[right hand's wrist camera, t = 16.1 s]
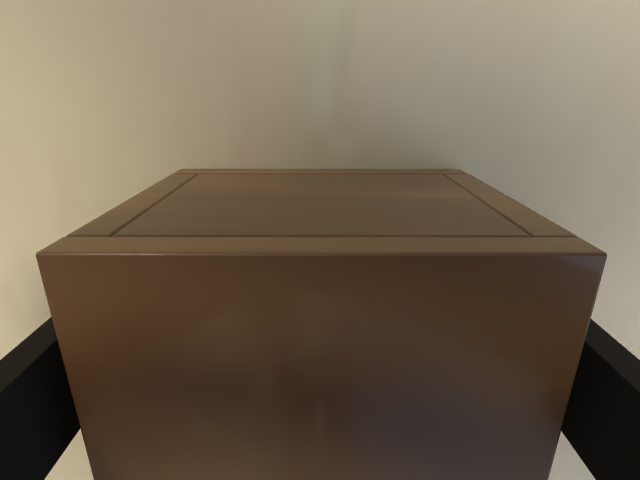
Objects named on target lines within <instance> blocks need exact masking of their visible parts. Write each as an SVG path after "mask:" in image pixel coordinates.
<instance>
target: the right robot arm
mask: <svg viewBox="0 0 640 480" xmlns="http://www.w3.org/2000/svg"><path fill="white" fill-rule="evenodd" d="M79 429H80V424H79V420H78V416H77V412H76V408H75V405H74V401H73V397H72V393H71V389H70V385H69V381H68V378H67V374H66V370H65V366H64V362H63V358H62V354H61V351H60V347H59V343H58V339H57V335H56V331H55V327H54V324H53V320H52V317H51V318H50V319H48V320H47V321H46V322H45V323H44V324H42V325H41V326H40V327H39V328H38V329H37V330H35V331H34V332H33V333H32V334H31V335H30V336H28V337H27V338H26V339H25V340H24V341H22V342H21V343H20V344H19V345H18V346H17V347H15V348H14V349H13V350H12V351H11V352H9V353H8V354H7V355H6V356H5V357H4V358H2V359H1V360H0V480H44V479H45V478H46V476H47V475H48V473H49V472H50V471H51V469H52V468H53V466H54V465H55V463H56V462H57V461H58V459H59V458H60V456H61V455H62V454H63V452H64V451H65V449H66V448H67V446H68V445H69V444H70V442H71V441H72V439H73V438H74V437H75V435H76V434H77V432H78V431H79ZM561 431H562V432H563V434H564V435H565V437H566V438H567V439H568V441H569V442H570V444H571V445H572V446H573V448H574V449H575V451H576V452H577V454H578V455H579V456H580V458H581V459H582V461H583V462H584V463H585V465H586V466H587V468H588V469H589V471H590V472H591V473H592V475H593V476H594V478H595V479H596V480H640V360H639V359H638V358H636V357H635V356H634V355H633V354H632V353H631V352H629V351H628V350H627V349H626V348H625V347H623V346H622V345H621V344H620V343H619V342H618V341H616V340H615V339H614V338H613V337H612V336H610V335H609V334H608V333H607V332H606V331H605V330H603V329H602V328H601V327H600V326H599V325H598V324H596V323H595V322H594V321H593V320H592V319H590V322H589V326H588V330H587V334H586V338H585V341H584V345H583V349H582V353H581V356H580V360H579V364H578V368H577V372H576V375H575V379H574V383H573V387H572V391H571V394H570V398H569V402H568V406H567V410H566V413H565V417H564V421H563V425H562V428H561Z"/></svg>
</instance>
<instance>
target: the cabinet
mask: <svg viewBox="0 0 640 480" xmlns="http://www.w3.org/2000/svg"><path fill="white" fill-rule="evenodd" d="M36 258H37V262H38V266H39V270H40V274H41V277H42V281H43V285H44V289H45V293H46V297H47V301H48V304H49V308H50V312H51V316H52V320H53V324H54V327H55V331H56V335H57V339H58V343H59V347H60V351H61V354H62V358H63V362H64V366H65V370H66V374H67V378H68V381H69V385H70V389H71V393H72V397H73V401H74V405H75V408H76V412H77V416H78V420H79V424H80V428H81V431H82V435H83V439H84V443H85V447H86V451H87V455H88V458H89V462H90V466H91V470H92V474H93V478H94V480H548V478H549V474H550V470H551V466H552V463H553V459H554V455H555V451H556V447H557V444H558V440H559V436H560V432H561V428H562V425H563V421H564V417H565V413H566V410H567V406H568V402H569V398H570V394H571V391H572V387H573V383H574V379H575V375H576V372H577V368H578V364H579V360H580V356H581V353H582V349H583V345H584V341H585V338H586V334H587V330H588V326H589V322H590V319H591V315H592V311H593V307H594V303H595V300H596V296H597V292H598V288H599V284H600V281H601V277H602V273H603V269H604V265H605V262H606V258H607V254H606V253H605V252H604V251H602V250H600V249H598V248H597V247H595V246H593V245H591V244H590V243H588V242H586V241H584V240H583V239H581V238H579V237H577V236H576V235H574V234H573V233H571V232H569V231H567V230H566V229H564V228H562V227H560V226H559V225H557V224H555V223H553V222H552V221H550V220H548V219H546V218H545V217H543V216H541V215H540V214H538V213H536V212H534V211H533V210H531V209H529V208H527V207H526V206H524V205H522V204H520V203H519V202H517V201H515V200H513V199H512V198H510V197H508V196H506V195H505V194H503V193H501V192H499V191H498V190H496V189H494V188H492V187H491V186H489V185H487V184H485V183H484V182H482V181H480V180H479V179H477V178H475V177H473V176H472V175H470V174H467V173H466V172H464V171H462V170H460V169H181V170H179V171H177V172H176V173H174V174H172V175H170V176H168V177H167V178H165V179H163V180H161V181H160V182H158V183H156V184H155V185H153V186H151V187H149V188H148V189H146V190H144V191H143V192H141V193H139V194H137V195H136V196H134V197H132V198H131V199H129V200H127V201H125V202H124V203H122V204H120V205H118V206H117V207H115V208H113V209H112V210H110V211H108V212H106V213H105V214H103V215H101V216H100V217H98V218H96V219H94V220H93V221H91V222H89V223H88V224H86V225H84V226H82V227H81V228H79V229H77V230H75V231H74V232H72V233H70V234H69V235H67V236H66V237H63V238H61V239H60V240H58V241H56V242H54V243H53V244H51V245H49V246H47V247H46V248H44V249H42V250H41V251H39V252H37V253H36Z"/></svg>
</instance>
